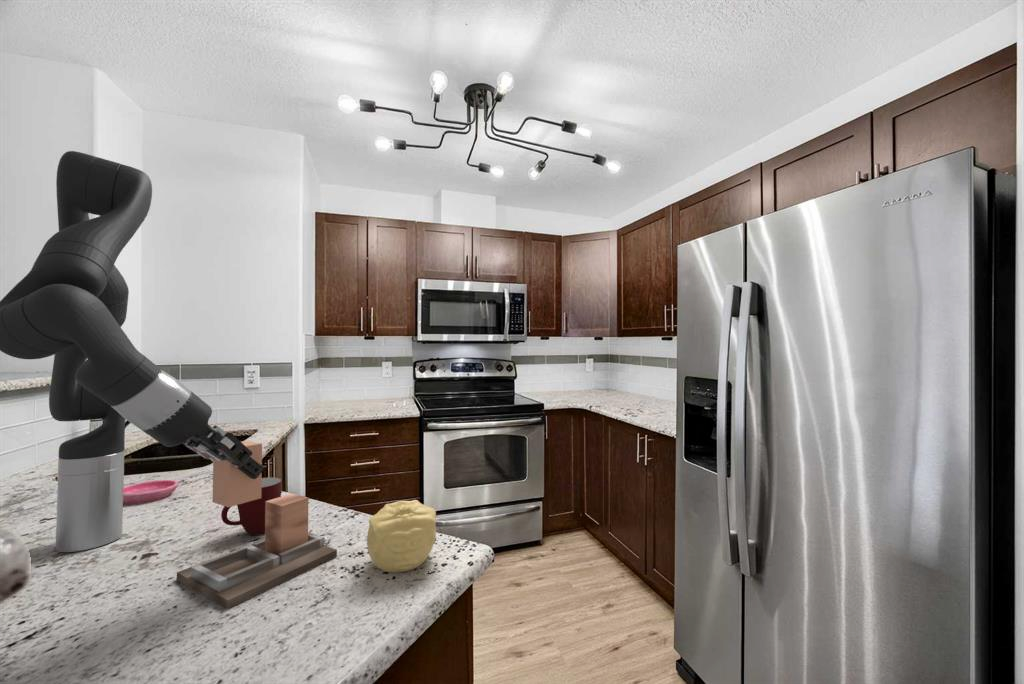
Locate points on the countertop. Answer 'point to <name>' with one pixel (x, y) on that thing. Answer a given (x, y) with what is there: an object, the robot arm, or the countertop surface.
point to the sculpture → (401, 535)
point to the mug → (255, 508)
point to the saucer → (148, 491)
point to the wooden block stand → (262, 556)
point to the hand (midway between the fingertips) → (249, 471)
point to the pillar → (236, 480)
